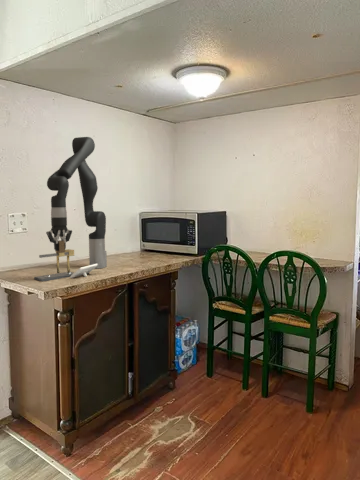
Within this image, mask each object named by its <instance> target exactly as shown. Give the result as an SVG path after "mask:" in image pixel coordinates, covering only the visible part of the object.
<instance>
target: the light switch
mask: <svg viewBox="0 0 360 480" xmlns="http://www.w3.org/2000/svg"><path fill="white" fill-rule="evenodd" d="M96 266H98V264H93V265H89V264H88V265H86V266H82V267H79V268H78V269H77V270H76V271H74V274H72V275H71V276H70V277H69V278H70V279H73V278H76V277H81V276H83V277H84V278H86V277H87V276H88V275H87V274H89V273H91V272H92V271H93V270H95V269H96V268H95V267H96Z"/></svg>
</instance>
